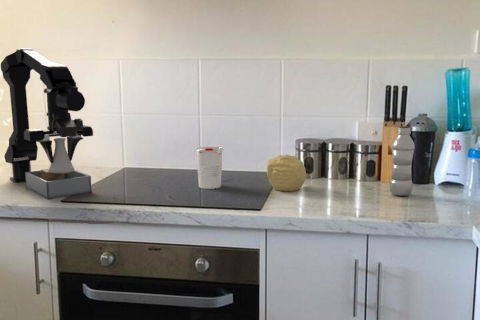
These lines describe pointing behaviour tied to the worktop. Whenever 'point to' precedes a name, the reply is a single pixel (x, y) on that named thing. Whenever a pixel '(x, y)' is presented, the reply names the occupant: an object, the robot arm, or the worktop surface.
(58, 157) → the flask
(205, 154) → the white bucket
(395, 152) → the plastic bottle
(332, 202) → the worktop surface
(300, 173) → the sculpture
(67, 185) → the tote
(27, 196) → the worktop surface
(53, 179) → the walnut cube
